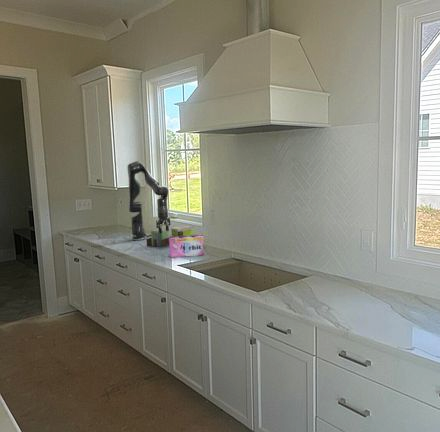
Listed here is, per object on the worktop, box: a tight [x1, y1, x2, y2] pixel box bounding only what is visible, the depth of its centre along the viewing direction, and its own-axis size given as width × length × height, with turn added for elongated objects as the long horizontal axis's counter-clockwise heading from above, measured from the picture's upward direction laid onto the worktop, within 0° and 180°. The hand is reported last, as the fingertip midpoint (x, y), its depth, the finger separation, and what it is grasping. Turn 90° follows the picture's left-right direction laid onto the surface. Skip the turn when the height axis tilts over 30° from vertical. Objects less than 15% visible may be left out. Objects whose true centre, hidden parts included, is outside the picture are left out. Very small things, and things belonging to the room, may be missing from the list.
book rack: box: [145, 237, 170, 249], centre depth 324 cm, size 10×15×7 cm, turn 70°
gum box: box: [168, 234, 205, 258], centre depth 293 cm, size 24×8×14 cm, turn 103°
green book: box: [161, 229, 169, 242], centre depth 322 cm, size 6×2×12 cm, turn 160°
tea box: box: [170, 225, 195, 237], centre depth 328 cm, size 15×10×15 cm, turn 134°
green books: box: [150, 229, 159, 246], centre depth 325 cm, size 6×4×12 cm, turn 160°
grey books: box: [156, 232, 162, 248], centre depth 323 cm, size 6×4×11 cm, turn 160°
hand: (164, 232), depth 321 cm, fingers open, 8 cm apart
